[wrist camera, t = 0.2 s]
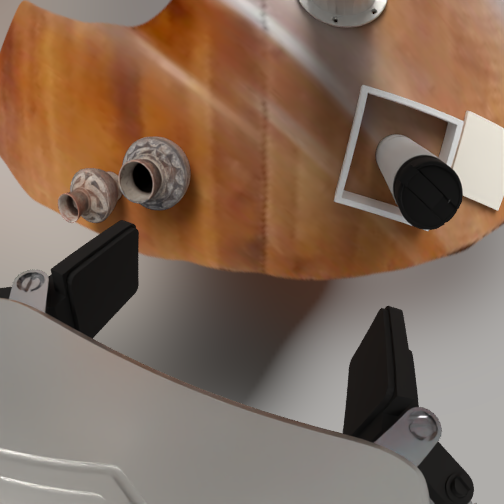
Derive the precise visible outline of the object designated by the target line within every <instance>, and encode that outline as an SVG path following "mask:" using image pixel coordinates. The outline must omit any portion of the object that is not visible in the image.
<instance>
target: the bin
mask: <svg viewBox="0 0 504 504" xmlns="http://www.w3.org/2000/svg"><path fill="white" fill-rule="evenodd" d="M368 94H370V95H374V96H377V97H380V98H383V99H386V100H389V101H393V102H396V103H399V104H401V105H404V106H407V107H410V108H413V109H416V110H418V111H421V112H424V113H426V114H429V115H431V116H434V117H436V118H439V119H441V120H444V121H446V122H448V125H447V129H446V133H445V137H444V140H443V144H442V147H441V151H440V154H439V159H441V160H442V161H443V162H444V163H446V164H447V165H448V166H449V167H451V166H452V163H453V160H454V156H455V153H456V149H457V146H458V142H459V139H460V135H461V131H462V127H463V124H464V121H462V120H459V119H457V118H455V117H452V116H450V115H448V114H445V113H443V112H440V111H438V110H436V109H433V108H430V107H428V106H425V105H423V104H420V103H417V102H415V101H412V100H409V99H406V98H403V97H400V96H398V95H395V94H392V93H388V92H385V91H382V90H379V89H376V88H372V87H369V86H366V85H362V86H361V89H360V94H359V98H358V103H357V107H356V112H355V116H354V120H353V124H352V129H351V133H350V137H349V141H348V145H347V149H346V153H345V157H344V161H343V165H342V169H341V173H340V176H339V180H338V184H337V188H336V191H335V198H334V202H337V203H341V204H344V205H348V206H351V207H354V208H358V209H361V210H364V211H368V212H371V213H374V214H377V215H380V216H384V217H387V218H390V219H393V220H396V221H399V222H402V223H405V224H408V225H411V224H410V223H408V222H407V221H406V220H405V218H404V217H403V215H402V214H401V212H400V209H399V207H397V206H394V205H391V204H388V203H384V202H381V201H378V200H375V199H372V198H369V197H365V196H362V195H359V194H355V193H352V192H349V191H345V190H344V187H345V183H346V179H347V176H348V172H349V168H350V164H351V161H352V157H353V153H354V149H355V145H356V141H357V137H358V133H359V129H360V125H361V121H362V116H363V112H364V108H365V103H366V99H367V95H368ZM411 226H412V225H411ZM423 230H424V229H423ZM426 231H429V230H426Z"/></svg>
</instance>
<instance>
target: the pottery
mask: <svg viewBox="0 0 504 504" xmlns="http://www.w3.org/2000/svg"><path fill="white" fill-rule="evenodd" d="M190 175H191V174H190V165H189V161H188V159H187V157H186V155H185V153H184V152H183V150H182V149H181V148H180V147H179V146H178V145H177V144H175V143H174V142H172V141H171V140H168V139H166V138H163V137H145V138H142V139H139V140H137V141H136V142H134V143H133V144H132V145H131V146H130V147H129V149H128V150H127V152H126V154H125V157H124V160H123V165H122V167H121V169H120V172H119V177H118V175H116V174H115V173H113V172H105V171H103V170H100V169H94V168H86V169H81V170H79V171H78V172H77V173H76V174H75V175H74V177H73V179H72V182H71V186H70V192H69V193H64V194H62V195H60V197H59V199H58V208H59V211H60V213H61V215H62V217H63V218H64V219H65V220H66V221H68V222H70V223H74V222H76V221H77V220H78V219H79V217H80V216H82V217H83V218H84V219H86V220H87V221H89V222H92V223H99V222H102V221H104V220H105V219H106V218H107V217H108V216H109V215H110V214H111V212H112V211H113V209H114V208H115V206H116V203H117V200H118V199H120V197H121V195H122V194H123V195H124V196H125V197H126V198H127V199H128V200H130V201H131V202H134V203H139V204H141V205H142V206H144V207H146V208H148V209H151V210H166V209H169V208H171V207H173V206H174V205H175V204H176V203H178V202H179V201H180V200H181V198H182V197H183V196H184V194H185V192H186V191H187V188H188V186H189V183H190Z"/></svg>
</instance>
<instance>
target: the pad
mask: <svg viewBox="0 0 504 504" xmlns="http://www.w3.org/2000/svg"><path fill="white" fill-rule="evenodd" d="M451 168H452V169H453V170H454V171H455V172H456V174H457V175H458V177H459V179H460V181H461V184H462V190H463V196H465V197H467V198H470V199H472V200H475V201H477V202H479V203H482V204H484V205H486V206H488V207H491V208H493V209H495V210H497V211H498V210H499V207H500V204H501V202H502V199H503V196H504V128H502V127H500V126H498V125H497V124H495V123H493V122H491V121H489V120H487V119H485V118H483V117H481V116H479V115H477V114H475V113H473V112H470V111H467V110H466V114H465V118H464V124H463V127H462V131H461V135H460V139H459V142H458V146H457V149H456V153H455V156H454V160H453V163H452V166H451Z"/></svg>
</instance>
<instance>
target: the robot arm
mask: <svg viewBox="0 0 504 504" xmlns="http://www.w3.org/2000/svg"><path fill="white" fill-rule="evenodd" d="M299 2H300V4H301V5H302V6H303V8H304V9H305V10H306V11H307V12H308V13H309V14H310V15H311V16H313V17H314V18H316V19H317V20H319V21H321V22H323V23H326V24H328V25H332V26H336V27H344V28H350V27H358V26H363V25H365V24H368V23H370V22H372V21H373V20H375V19H376V18H377V17H378V16H379V15H380V14H381V13H382V11H383V10H384V8H385V6H386V3H387V0H299ZM372 12H375V14H372ZM334 20H337V22H334ZM138 238H139V232H138V230H137V229H136V226H135V225H134V224H132V223H129V222H126V221H123V220H121V221H119V222H117V223H116V224H114V225H113V226H111V227H110V228H108V229H107V230H105V231H104V232H102V233H101V234H99V235H98V236H96V237H95V238H93V239H92V240H91V241H89V242H88V243H86V244H85V245H83V246H82V247H81V248H79V249H78V250H77V251H75V252H73V253H72V254H71V255H69V256H68V257H67V258H65V259H64V260H63V261H61V262H60V263H58V264H57V265H56V266H54V267H53V268H52V269H51V273H52V274H51V275H50V276H49V277H48V275H47V274H46V273H45V272H43V271H41V270H28V271H25V272H23V273H21V274H19V275H18V276H17V277H16V278H15V280H14V282H13V285H12V287H6V288H0V504H472V502H471V499H472V497H473V492H474V487H473V482H472V480H471V478H470V476H469V475H468V474H467V473H466V472H465V470H464V469H463V468H462V467H461V466H460V465H459V464H458V463H457V462H456V461H455V460H454V458H452V456H451V455H450V454H449V453H448V452H447V451H446V450H445V449H444V448H443V446H442V445H441V444H440V443H439V442H438V441H439V439H440V437H441V432H442V428H441V424H440V422H439V420H438V418H437V417H436V415H435V414H434V413H432V412H431V411H430V410H428V409H425V408H423V407H419V405H418V395H417V386H416V378H415V369H414V361H413V355H412V351H410V350H409V348H408V343H407V342H408V341H407V335H406V329H405V323H404V317H403V312H402V310H400V309H397V308H394V307H390V306H387V307H386V308H385V309H383V308H381V309H380V310H379V312H378V313H377V315H376V317H375V319H374V321H373V323H372V325H371V326H370V328H369V330H368V332H367V334H366V335H365V337H364V339H363V340H362V342H361V344H360V346H359V347H358V349H357V351H356V352H355V354H354V356H353V357H352V359H351V362H350V365H349V376H348V388H347V400H346V410H345V418H344V428H343V434H342V433H339V432H334V431H331V430H327V429H323V428H319V427H315V426H312V425H308V424H305V423H301V422H298V421H295V420H291V419H288V418H284V417H281V416H278V415H274V414H271V413H268V412H265V411H261V410H259V409H255V408H253V407H249V406H246V405H244V404H241V403H238V402H235V401H232V400H229V399H226V398H224V397H221V396H219V395H216V394H213V393H211V392H208V391H205V390H203V389H200V388H198V387H195V386H192V385H190V384H188V383H185V382H183V381H181V380H178V379H176V378H173V377H171V376H169V375H167V374H164V373H162V372H160V371H157V370H155V369H153V368H151V367H149V366H146V365H144V364H142V363H140V362H138V361H136V360H134V359H132V358H129V357H127V356H125V355H123V354H121V353H119V352H117V351H115V350H113V349H111V348H109V347H107V346H105V345H103V344H101V343H99V342H97V341H96V340H94V339H93V337H94V336H95V335H96V334H97V333H98V332H99V331H100V330H101V329H102V328H103V327H104V326H105V325H106V323H107V322H108V321H109V320H110V319H111V318H112V317H113V316H114V315H115V314H116V313H117V312H118V311H119V310H120V309H121V308H122V306H123V305H124V304H125V303H126V302H127V301H128V300H129V299H130V298H131V297H132V296H133V295H134V294H135V293H136V291H137V289H138ZM474 504H477V503H474Z"/></svg>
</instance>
